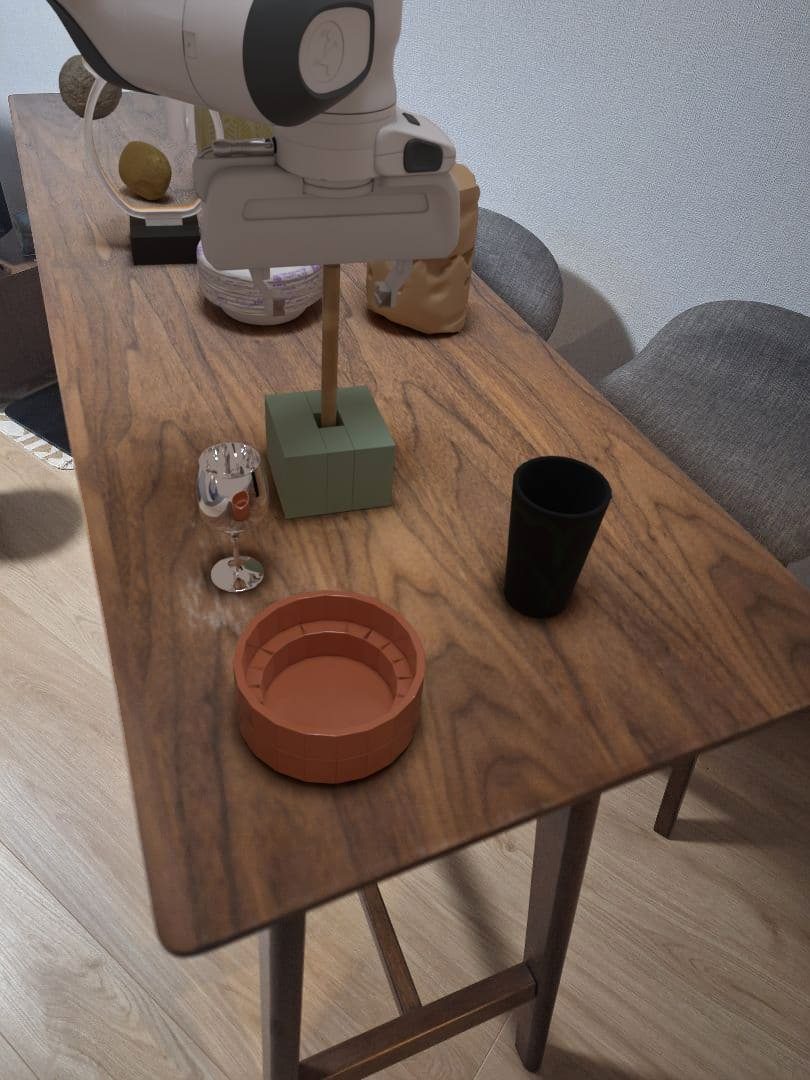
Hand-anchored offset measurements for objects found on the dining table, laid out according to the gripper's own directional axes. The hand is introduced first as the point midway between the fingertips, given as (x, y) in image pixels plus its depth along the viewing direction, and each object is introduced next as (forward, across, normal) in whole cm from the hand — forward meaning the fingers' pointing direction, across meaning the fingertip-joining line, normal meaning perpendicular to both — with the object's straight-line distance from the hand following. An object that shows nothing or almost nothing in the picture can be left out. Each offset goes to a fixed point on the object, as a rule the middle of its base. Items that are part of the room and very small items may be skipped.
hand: (330, 309), depth 76 cm
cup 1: (+18, -2, +96) cm, 98 cm away
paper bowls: (+18, 0, +35) cm, 39 cm away
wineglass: (+18, -10, -11) cm, 24 cm away
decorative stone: (+18, -17, +107) cm, 110 cm away
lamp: (+18, -10, +53) cm, 57 cm away
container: (+18, +18, +30) cm, 39 cm away
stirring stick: (+18, 0, 0) cm, 18 cm away
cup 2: (+18, +14, -19) cm, 30 cm away
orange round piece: (+18, -6, -27) cm, 33 cm away
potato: (+18, -11, +71) cm, 74 cm away
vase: (+18, +5, +69) cm, 72 cm away
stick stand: (+18, 0, 0) cm, 18 cm away
